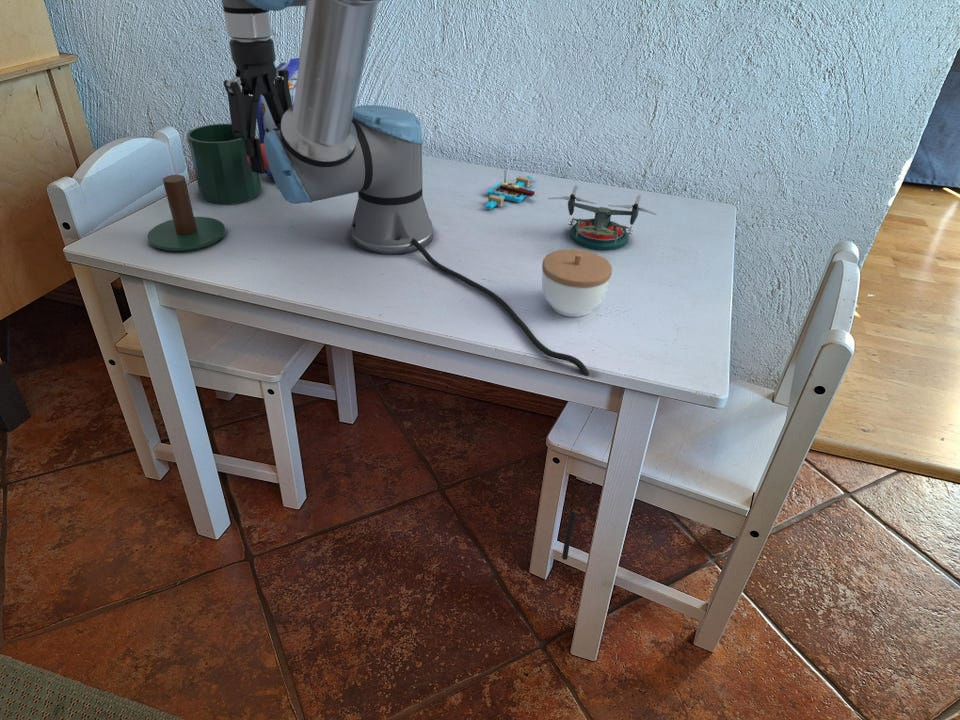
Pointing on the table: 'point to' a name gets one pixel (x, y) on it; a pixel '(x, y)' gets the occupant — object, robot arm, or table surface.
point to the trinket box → (575, 281)
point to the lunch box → (263, 112)
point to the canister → (222, 165)
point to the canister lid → (183, 222)
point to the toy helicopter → (600, 224)
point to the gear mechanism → (509, 191)
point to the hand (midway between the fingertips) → (271, 167)
